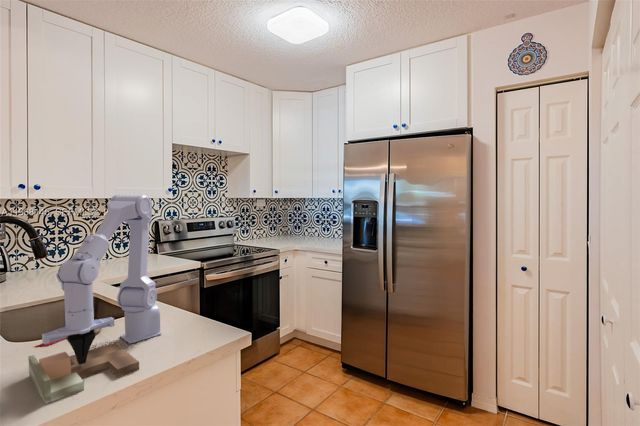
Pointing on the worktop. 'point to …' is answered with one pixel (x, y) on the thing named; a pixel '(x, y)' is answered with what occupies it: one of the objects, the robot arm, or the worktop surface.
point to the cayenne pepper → (49, 343)
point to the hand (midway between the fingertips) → (81, 362)
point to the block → (56, 365)
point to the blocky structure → (81, 371)
